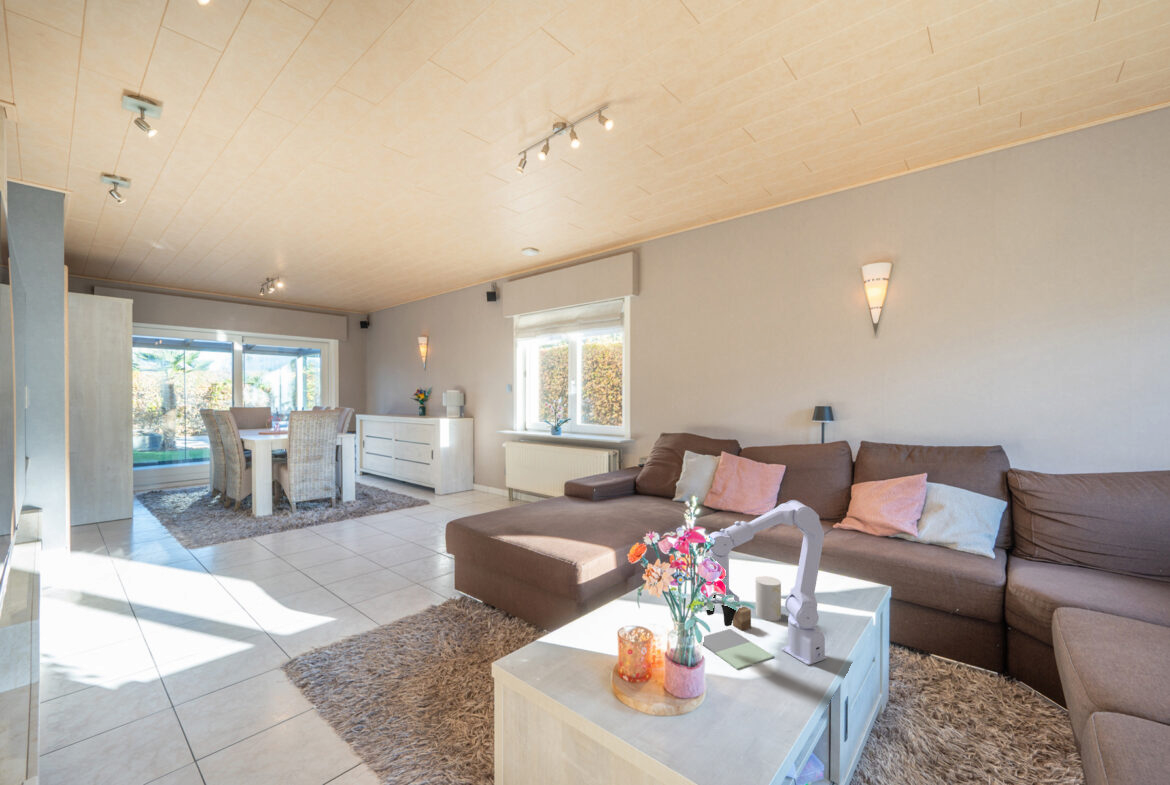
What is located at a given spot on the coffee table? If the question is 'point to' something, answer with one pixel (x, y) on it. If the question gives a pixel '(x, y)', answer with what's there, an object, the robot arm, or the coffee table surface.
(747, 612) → the block
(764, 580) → the beige cylinder
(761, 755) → the coffee table surface
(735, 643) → the board
